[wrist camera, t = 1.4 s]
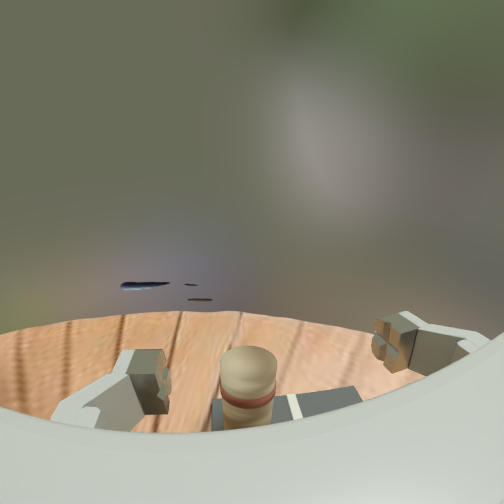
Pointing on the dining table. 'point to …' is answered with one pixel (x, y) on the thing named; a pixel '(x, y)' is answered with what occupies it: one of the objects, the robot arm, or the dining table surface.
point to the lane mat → (298, 405)
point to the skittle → (247, 387)
